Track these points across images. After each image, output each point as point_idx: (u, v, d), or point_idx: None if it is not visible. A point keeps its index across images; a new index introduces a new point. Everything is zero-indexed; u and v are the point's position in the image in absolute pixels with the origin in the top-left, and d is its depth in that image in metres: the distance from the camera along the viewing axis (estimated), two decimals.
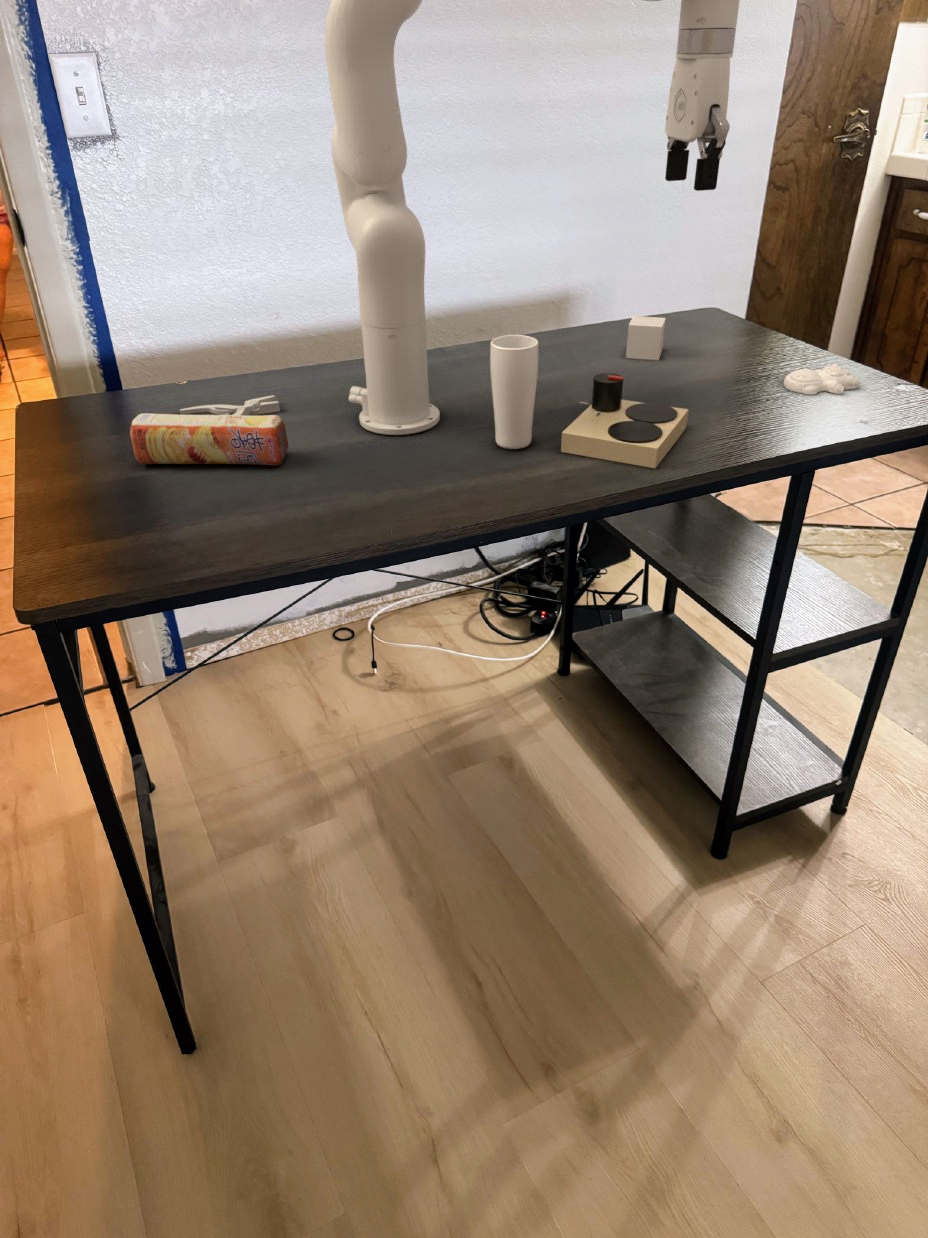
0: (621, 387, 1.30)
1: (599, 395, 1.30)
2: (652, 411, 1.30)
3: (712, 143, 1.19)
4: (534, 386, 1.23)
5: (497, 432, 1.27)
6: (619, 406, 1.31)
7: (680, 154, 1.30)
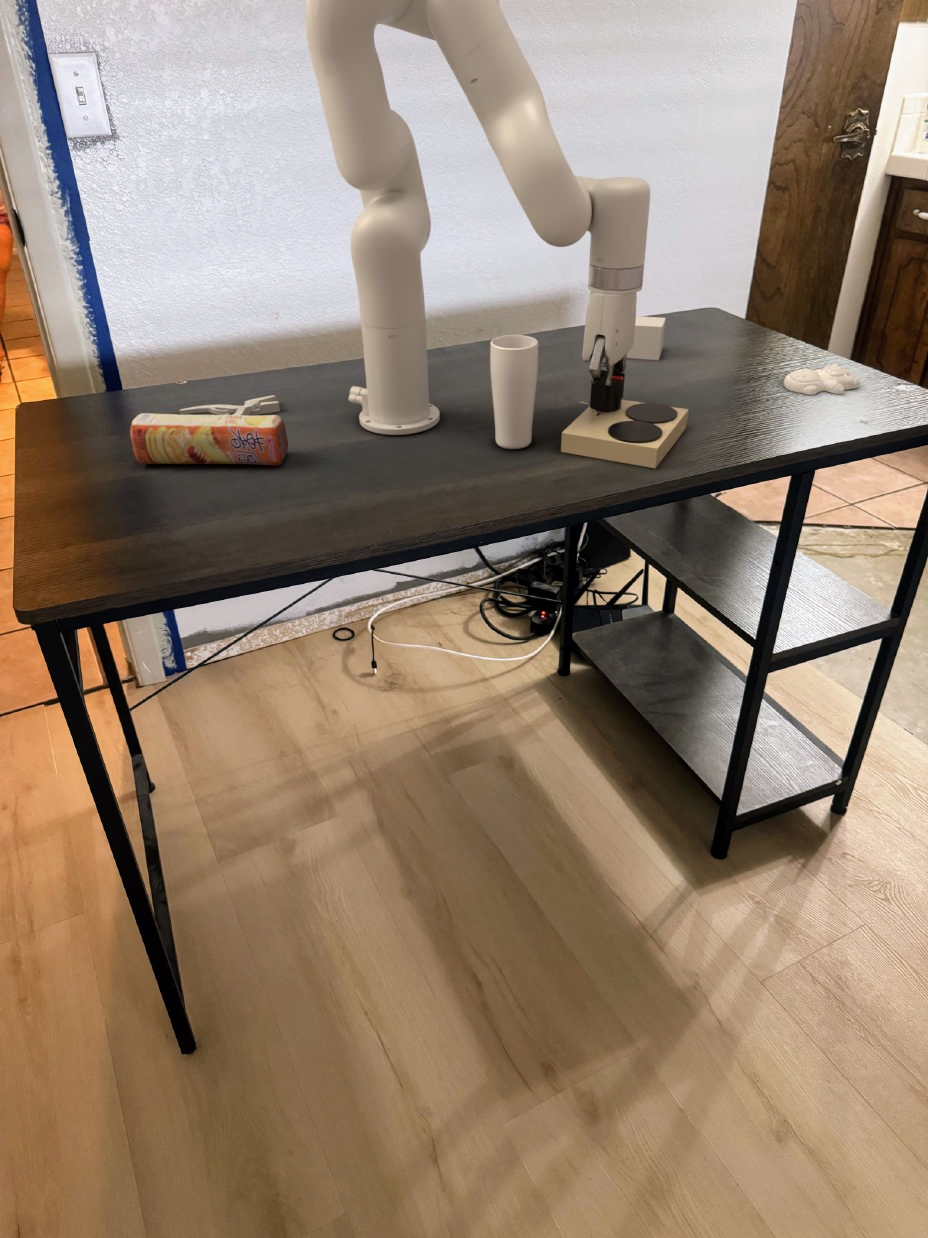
0: (621, 387, 1.30)
1: None
2: (652, 411, 1.30)
3: None
4: (534, 386, 1.23)
5: (497, 432, 1.27)
6: (619, 406, 1.31)
7: None
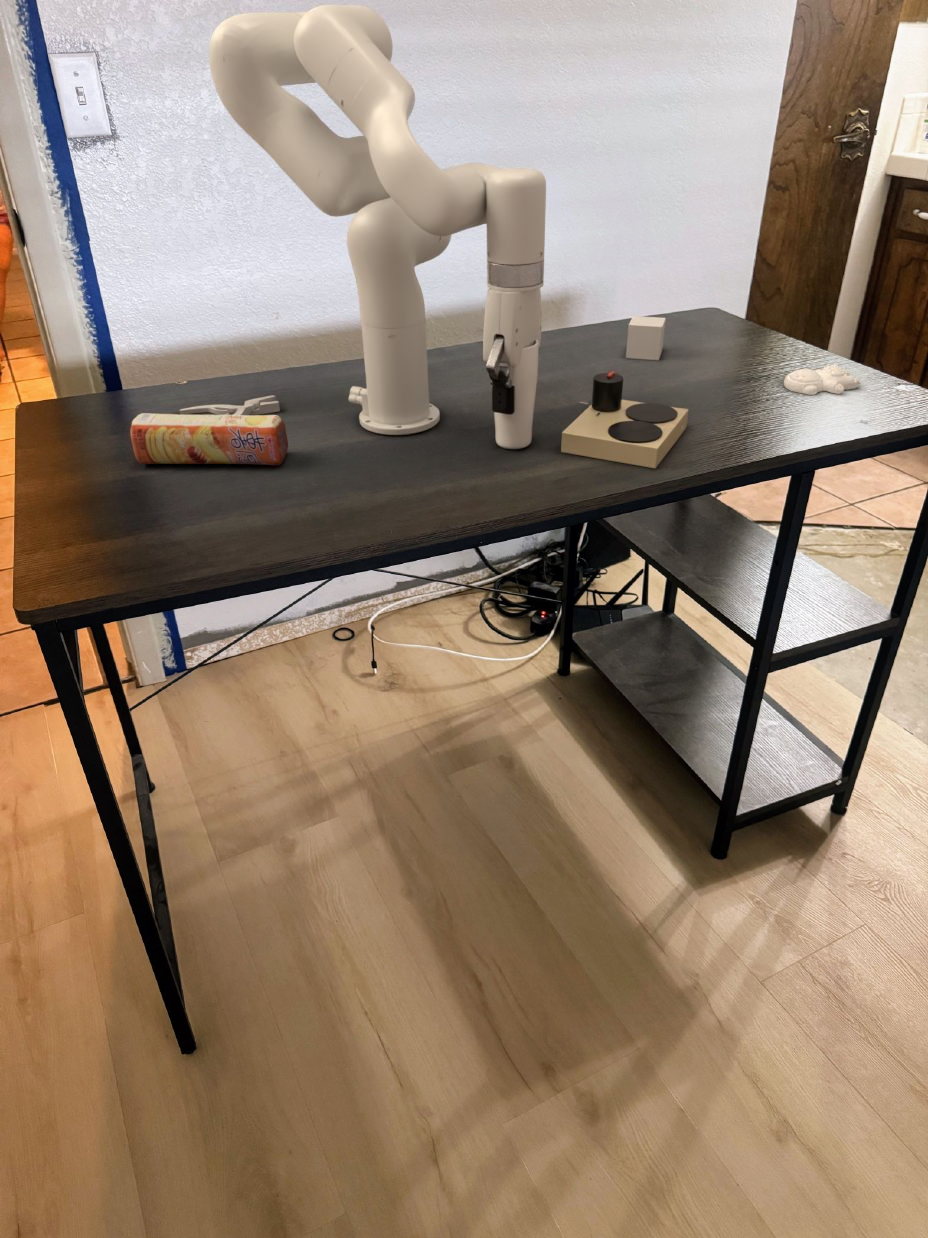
0: None
1: (620, 394, 1.30)
2: (652, 411, 1.30)
3: (489, 374, 1.18)
4: (534, 386, 1.23)
5: (497, 432, 1.27)
6: None
7: None
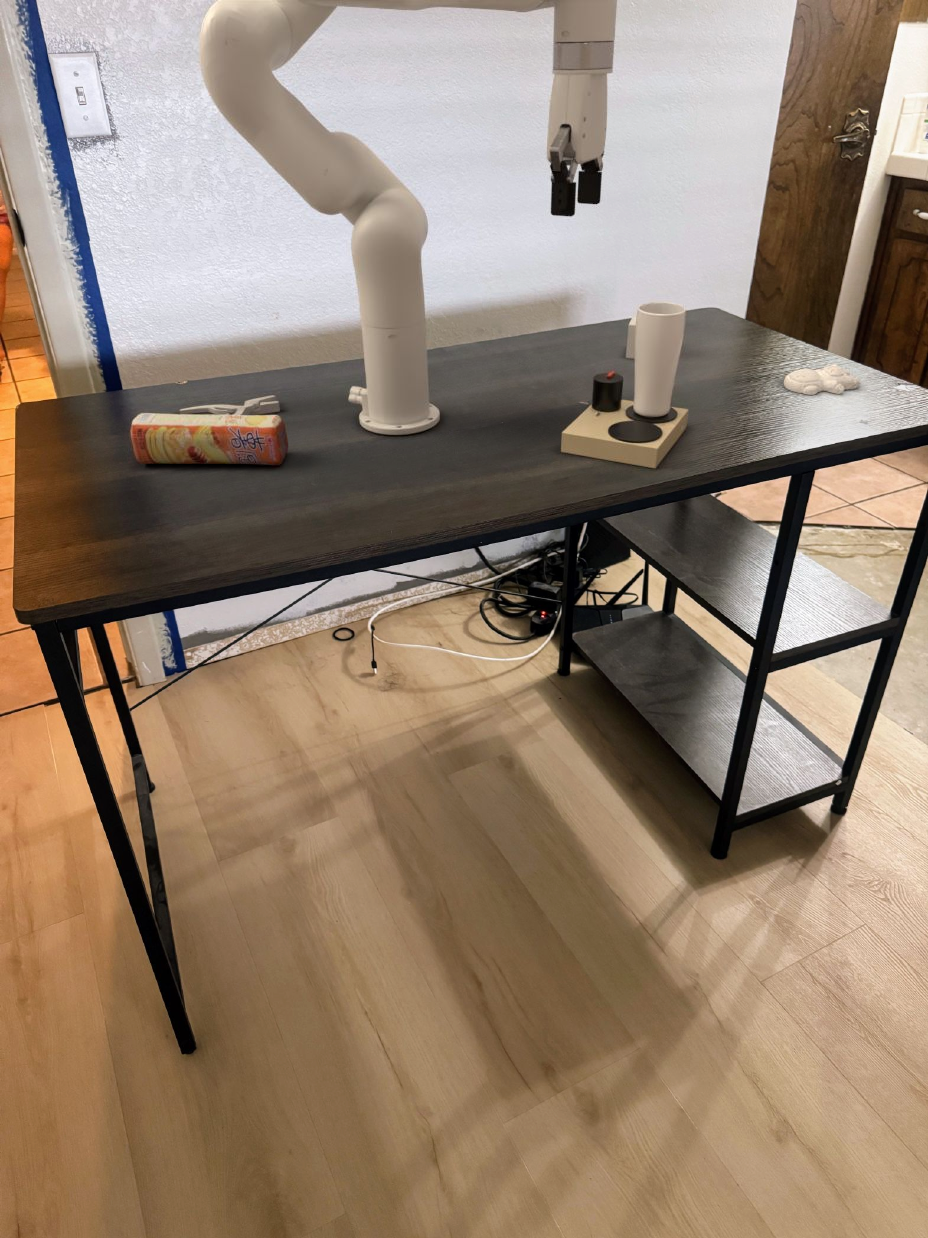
0: None
1: (620, 394, 1.30)
2: None
3: (550, 166, 1.10)
4: (679, 353, 1.23)
5: (637, 400, 1.27)
6: None
7: (590, 176, 1.20)
